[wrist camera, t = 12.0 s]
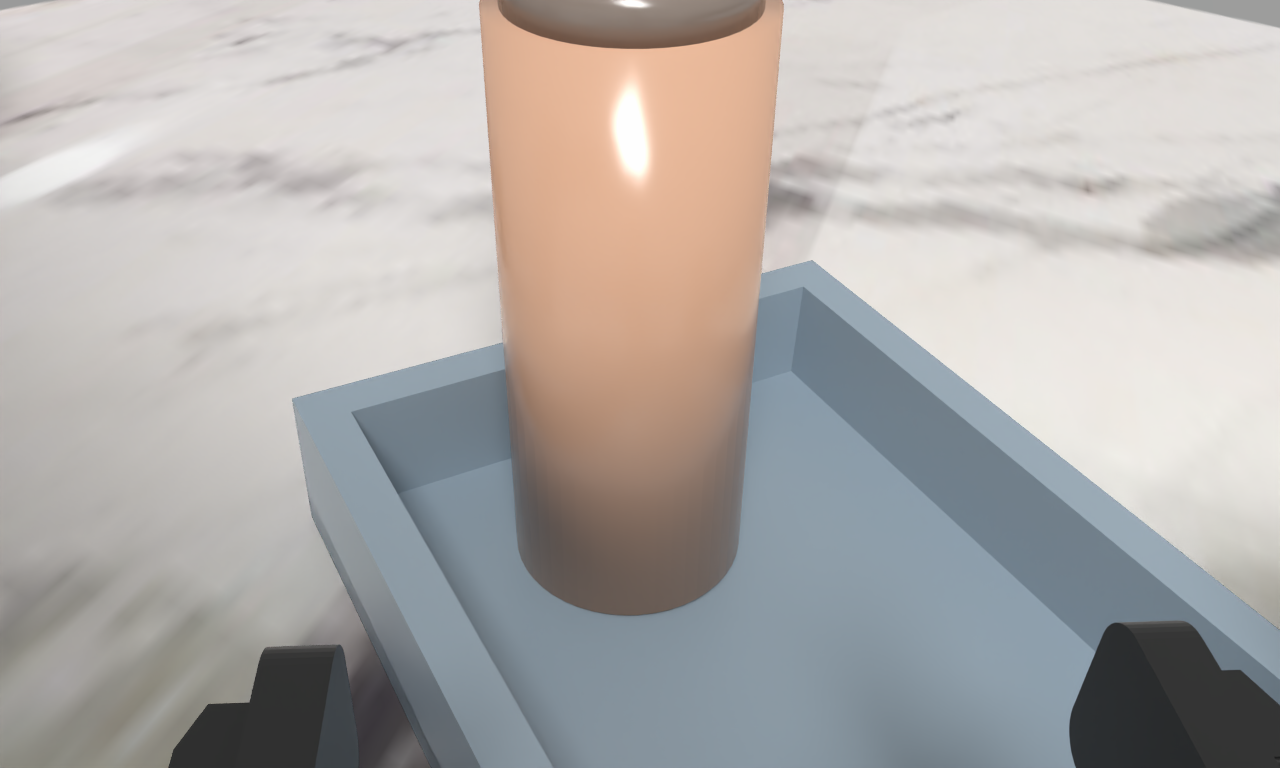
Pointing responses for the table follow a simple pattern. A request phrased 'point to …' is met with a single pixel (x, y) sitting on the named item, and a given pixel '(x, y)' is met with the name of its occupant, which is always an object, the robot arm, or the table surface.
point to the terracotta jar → (629, 282)
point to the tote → (758, 572)
